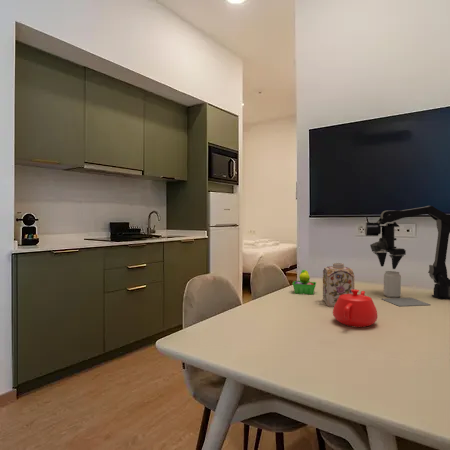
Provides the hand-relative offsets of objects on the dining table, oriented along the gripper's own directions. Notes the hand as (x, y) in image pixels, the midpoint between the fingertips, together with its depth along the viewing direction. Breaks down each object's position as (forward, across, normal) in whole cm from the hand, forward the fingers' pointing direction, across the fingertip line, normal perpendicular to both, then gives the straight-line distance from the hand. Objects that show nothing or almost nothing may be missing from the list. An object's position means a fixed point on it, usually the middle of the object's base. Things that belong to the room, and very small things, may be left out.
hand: (387, 267), depth 174 cm
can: (+14, +3, 0) cm, 14 cm away
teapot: (+14, +37, -39) cm, 56 cm away
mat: (+14, +14, -1) cm, 20 cm away
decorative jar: (+13, +10, -32) cm, 36 cm away
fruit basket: (+13, -13, -38) cm, 42 cm away
